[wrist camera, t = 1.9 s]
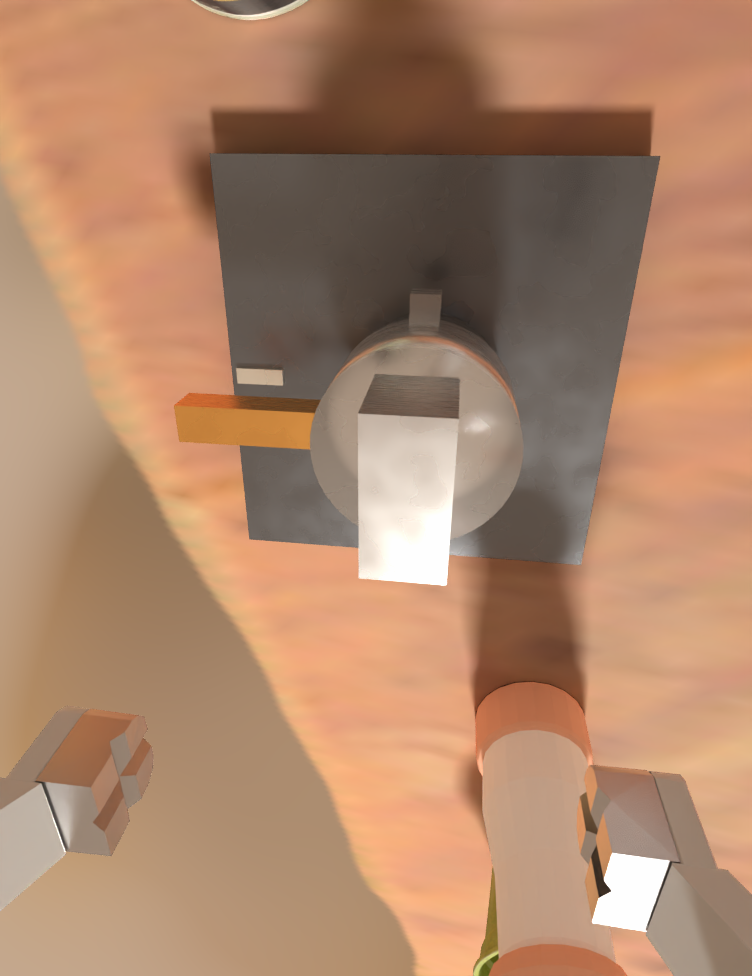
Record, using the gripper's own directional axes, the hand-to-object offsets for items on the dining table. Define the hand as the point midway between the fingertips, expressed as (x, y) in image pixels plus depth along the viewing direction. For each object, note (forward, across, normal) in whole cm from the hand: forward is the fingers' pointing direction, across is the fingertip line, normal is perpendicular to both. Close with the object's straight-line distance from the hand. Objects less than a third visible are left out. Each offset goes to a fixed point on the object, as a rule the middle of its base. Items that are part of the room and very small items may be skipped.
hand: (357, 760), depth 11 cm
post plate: (+24, 0, 0) cm, 24 cm away
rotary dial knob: (+18, +3, 0) cm, 18 cm away
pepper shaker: (+24, -8, +24) cm, 35 cm away
